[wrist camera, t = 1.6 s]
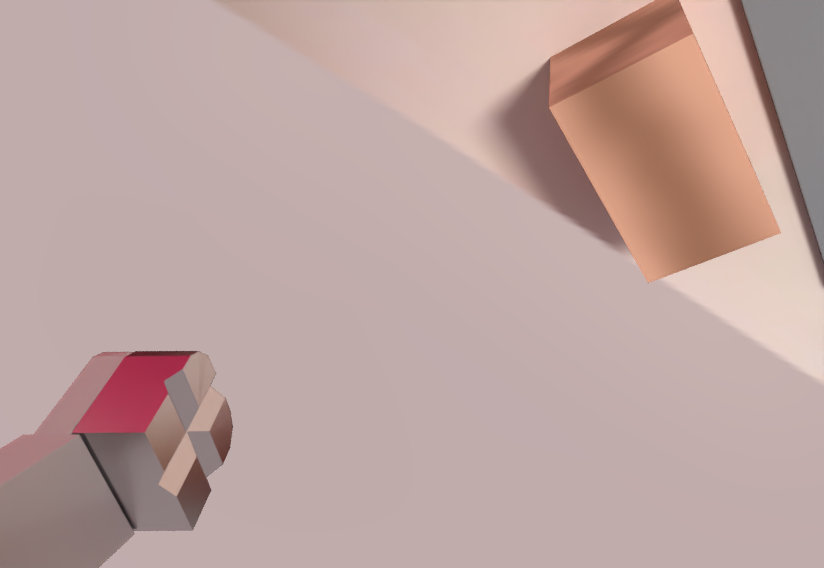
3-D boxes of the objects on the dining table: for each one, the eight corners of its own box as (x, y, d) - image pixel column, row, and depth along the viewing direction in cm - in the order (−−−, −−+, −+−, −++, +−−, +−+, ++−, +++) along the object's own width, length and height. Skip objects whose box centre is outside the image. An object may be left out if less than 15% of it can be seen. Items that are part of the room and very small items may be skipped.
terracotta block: (673, -11, 33) (692, 33, 28) (752, 168, 37) (781, 233, 32) (550, 56, 35) (548, 107, 31) (637, 216, 40) (648, 283, 35)
